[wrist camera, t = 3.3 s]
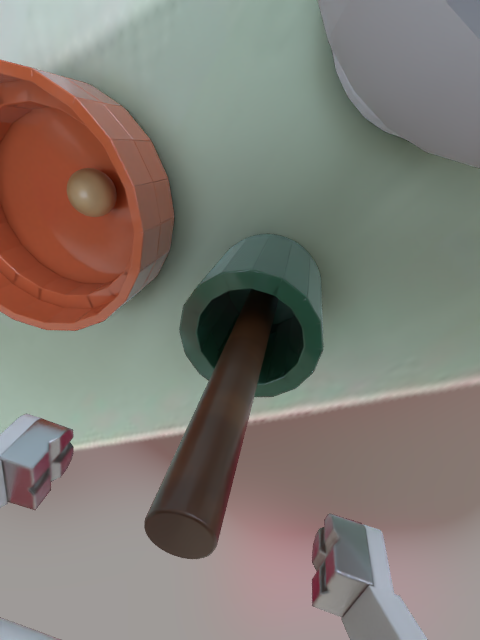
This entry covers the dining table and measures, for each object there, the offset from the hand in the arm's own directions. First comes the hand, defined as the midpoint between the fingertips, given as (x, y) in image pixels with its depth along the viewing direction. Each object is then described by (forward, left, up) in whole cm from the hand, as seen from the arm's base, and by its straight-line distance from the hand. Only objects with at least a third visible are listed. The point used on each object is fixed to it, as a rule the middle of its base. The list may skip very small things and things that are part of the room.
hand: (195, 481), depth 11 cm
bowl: (+15, -2, -17) cm, 23 cm away
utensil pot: (0, 0, -17) cm, 17 cm away
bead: (+12, -4, -15) cm, 20 cm away
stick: (0, 0, -16) cm, 16 cm away
